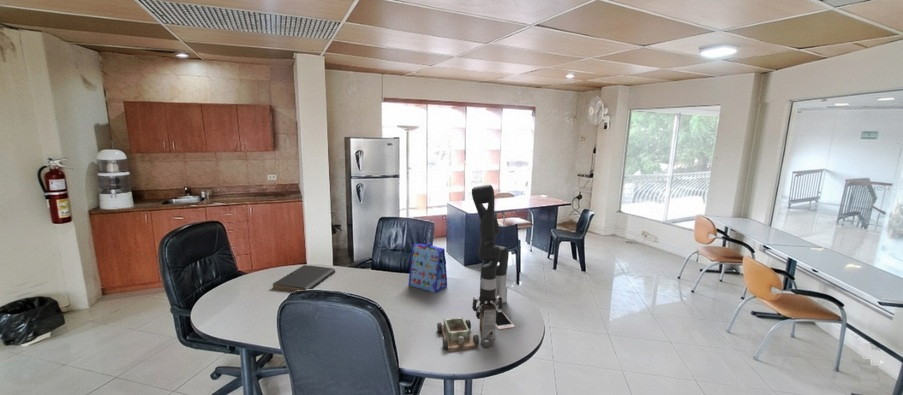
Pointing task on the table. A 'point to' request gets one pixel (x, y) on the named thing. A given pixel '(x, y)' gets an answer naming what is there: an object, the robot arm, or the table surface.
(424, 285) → the lunch bag
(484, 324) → the coffee box
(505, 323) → the cell phone
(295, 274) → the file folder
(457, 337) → the chassis
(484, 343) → the loose wheel
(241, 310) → the table surface
